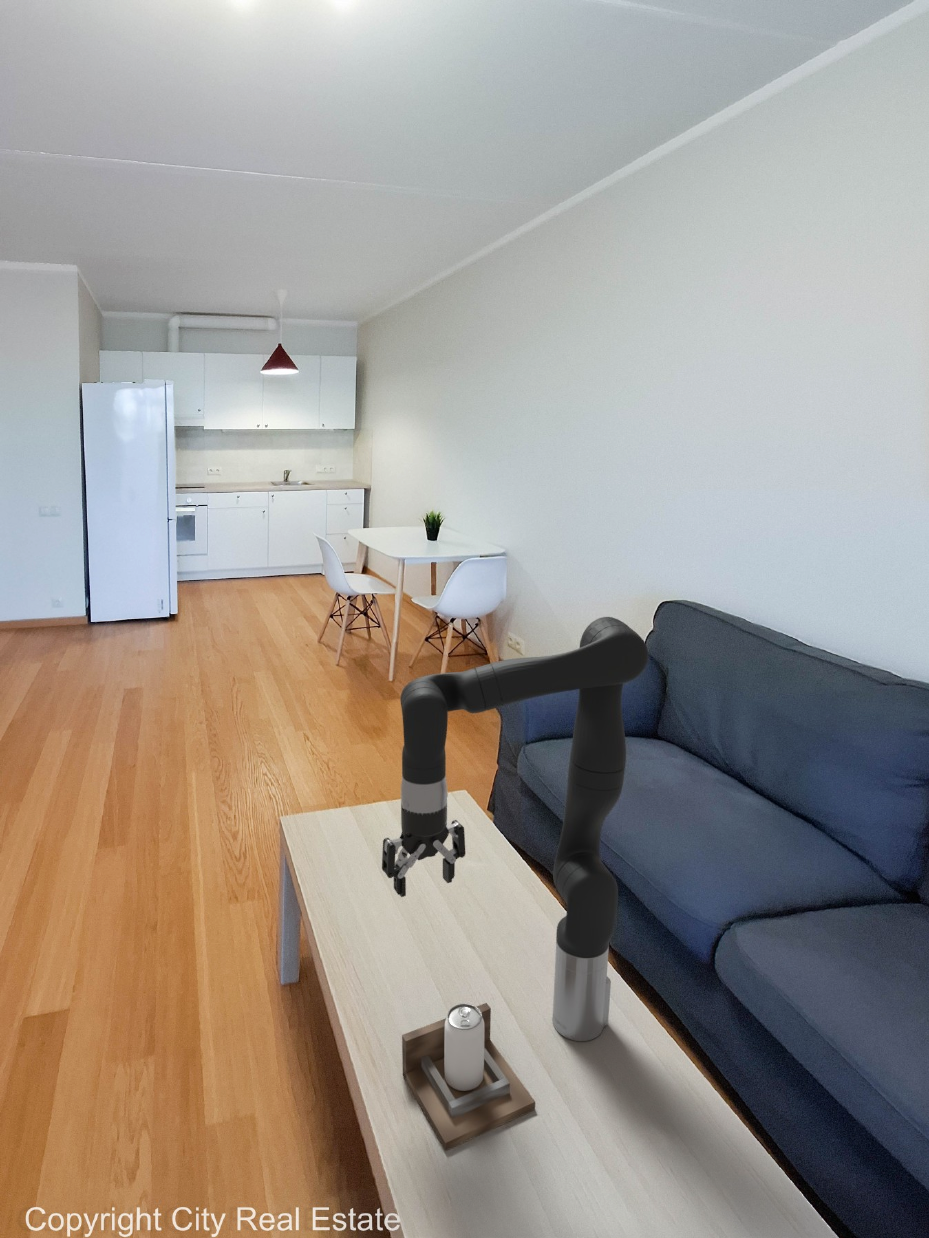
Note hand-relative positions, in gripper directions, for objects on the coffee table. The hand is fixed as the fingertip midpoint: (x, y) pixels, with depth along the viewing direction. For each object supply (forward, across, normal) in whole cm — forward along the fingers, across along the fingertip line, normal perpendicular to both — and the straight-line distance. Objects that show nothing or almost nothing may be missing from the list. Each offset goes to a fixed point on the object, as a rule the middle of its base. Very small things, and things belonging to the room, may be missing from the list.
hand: (424, 887), depth 135 cm
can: (+29, -1, +12) cm, 31 cm away
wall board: (+30, -1, +14) cm, 33 cm away
